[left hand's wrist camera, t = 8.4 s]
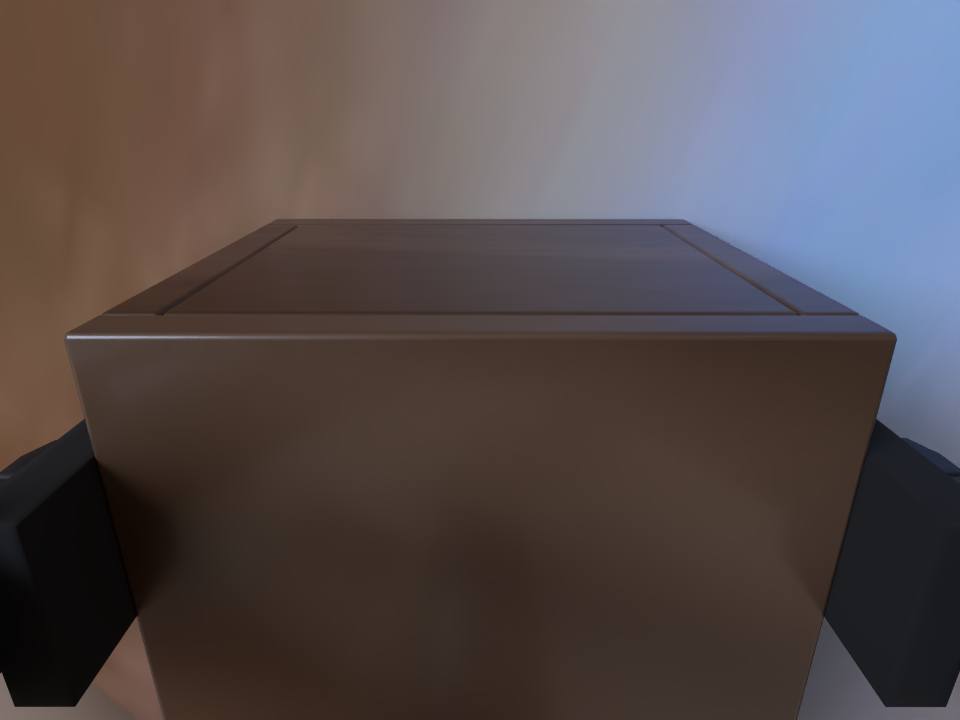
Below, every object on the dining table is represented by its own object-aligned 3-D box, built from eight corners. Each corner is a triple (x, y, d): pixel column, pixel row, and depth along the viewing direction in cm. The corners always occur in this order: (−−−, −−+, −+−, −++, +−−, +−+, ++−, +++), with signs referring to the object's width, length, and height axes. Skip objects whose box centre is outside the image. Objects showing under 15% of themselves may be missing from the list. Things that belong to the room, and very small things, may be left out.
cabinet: (617, 778, 23) (690, 1130, 15) (342, 779, 23) (269, 1130, 15) (685, 218, 15) (901, 333, 8) (274, 218, 15) (58, 333, 7)
